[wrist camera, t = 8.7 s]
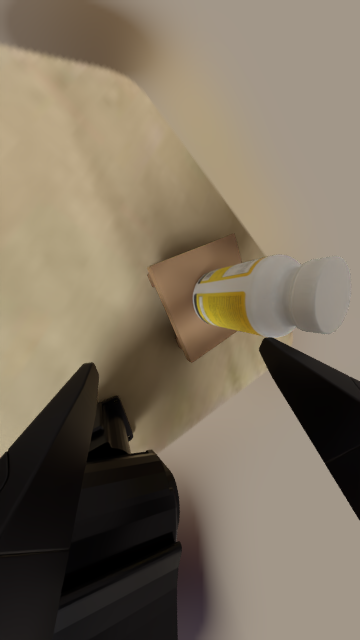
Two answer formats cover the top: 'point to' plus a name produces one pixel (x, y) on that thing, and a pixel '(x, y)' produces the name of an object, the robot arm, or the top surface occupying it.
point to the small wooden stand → (177, 293)
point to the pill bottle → (276, 296)
